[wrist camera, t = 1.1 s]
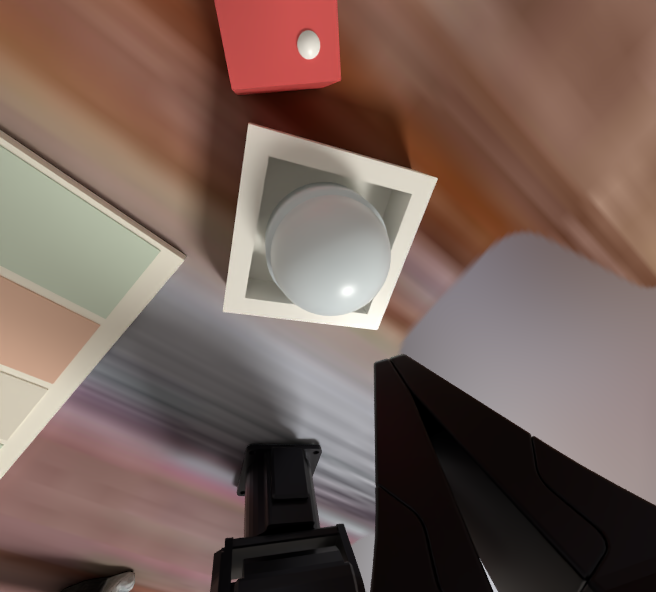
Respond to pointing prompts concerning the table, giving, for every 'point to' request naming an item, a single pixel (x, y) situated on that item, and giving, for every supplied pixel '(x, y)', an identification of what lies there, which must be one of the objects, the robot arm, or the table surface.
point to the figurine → (105, 584)
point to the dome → (327, 249)
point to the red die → (280, 44)
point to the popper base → (296, 171)
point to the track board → (62, 288)
